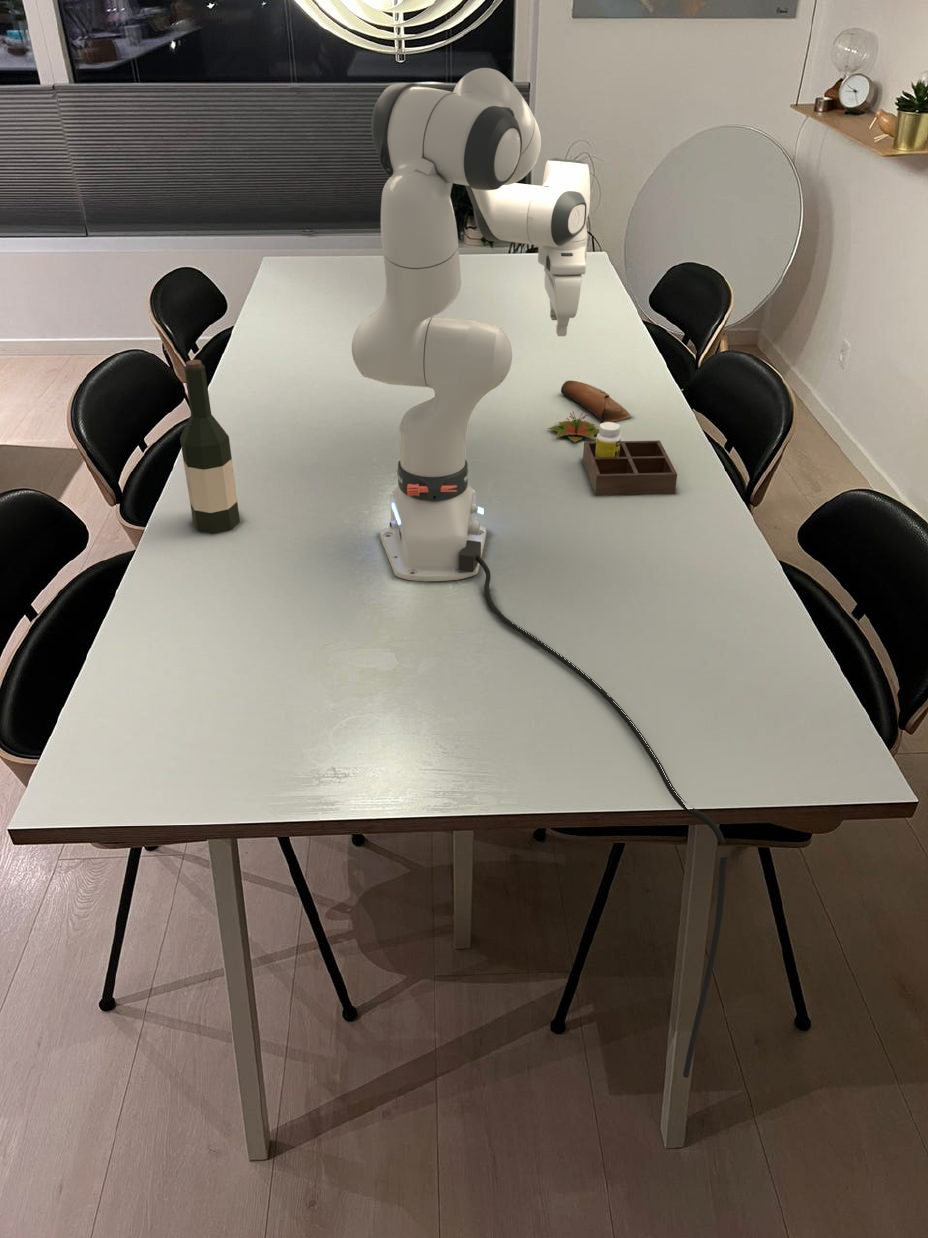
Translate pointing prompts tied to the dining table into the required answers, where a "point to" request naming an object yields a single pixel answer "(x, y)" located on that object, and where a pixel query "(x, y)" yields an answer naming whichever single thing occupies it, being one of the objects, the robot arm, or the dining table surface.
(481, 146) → the robot arm
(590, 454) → the wooden compartment tray
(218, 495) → the wine bottle
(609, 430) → the supplement bottle
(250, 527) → the dining table surface
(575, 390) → the sunglasses case
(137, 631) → the dining table surface
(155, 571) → the dining table surface
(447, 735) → the dining table surface
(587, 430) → the lily flower
